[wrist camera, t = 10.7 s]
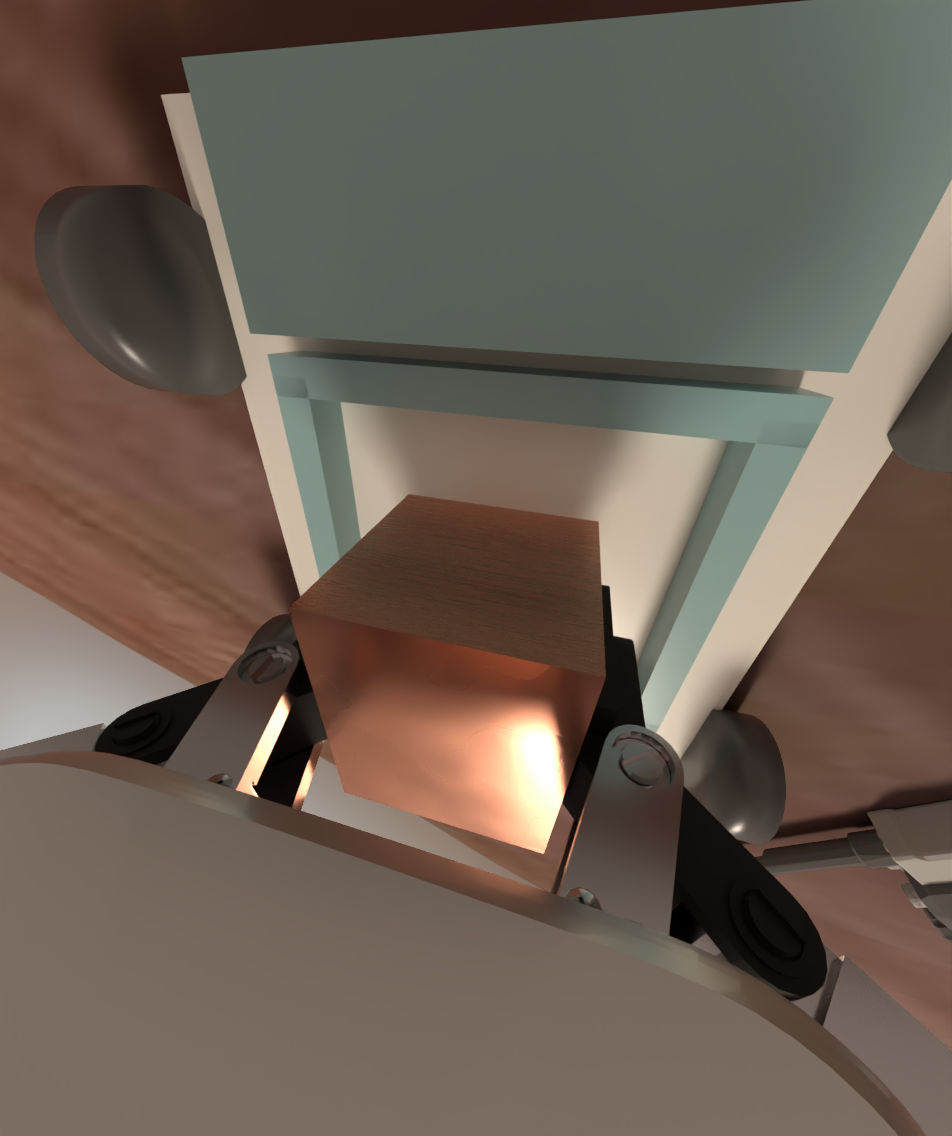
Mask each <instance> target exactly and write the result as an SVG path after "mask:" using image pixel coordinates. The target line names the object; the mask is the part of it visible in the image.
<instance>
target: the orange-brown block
mask: <svg viewBox="0 0 952 1136" xmlns="http://www.w3.org/2000/svg"><path fill="white" fill-rule="evenodd" d="M288 610H289V614H290V617H291V620H292V623H293V627H294V630H295V633H296V636H297V640H298V643H299V646H300V649H301V653H302V656H303V659H304V662H305V666H306V669H307V672H308V675H309V679H310V682H311V685H312V688H313V692H314V695H315V698H316V701H317V705H318V708H319V711H320V714H321V718H322V721H323V724H324V727H325V731H326V734H327V737H328V740H329V744H330V747H331V750H332V753H333V757H334V760H335V763H336V766H337V770H338V773H339V776H340V779H341V783H342V786H343V789H344V792H346V793H349V794H352V795H355V796H359V797H362V798H365V799H368V800H372V801H375V802H378V803H382V804H385V805H388V806H391V807H395V808H397V809H401V810H404V811H407V812H410V813H413V814H417V815H420V816H423V817H426V818H430V819H433V820H436V821H439V822H443V823H446V824H449V825H452V826H455V827H459V828H462V829H465V830H468V831H472V832H475V833H478V834H481V835H485V836H488V837H491V838H494V839H497V840H501V841H504V842H507V843H510V844H514V845H517V846H520V847H523V848H527V849H530V850H533V851H536V852H539V853H543V854H544V851H545V848H546V845H547V843H548V840H549V837H550V834H551V831H552V828H553V826H554V823H555V820H556V817H557V814H558V811H559V809H560V806H561V803H562V800H563V797H564V794H565V792H566V789H567V786H568V783H569V780H570V777H571V775H572V772H573V769H574V766H575V763H576V761H577V758H578V755H579V752H580V749H581V746H582V744H583V741H584V738H585V735H586V732H587V729H588V727H589V724H590V721H591V718H592V715H593V712H594V710H595V707H596V704H597V701H598V698H599V695H600V693H601V690H602V687H603V684H604V681H605V678H606V671H605V649H604V627H603V605H602V583H601V561H600V539H599V522H598V521H591V520H585V519H578V518H571V517H564V516H557V515H550V514H543V513H536V512H529V511H523V510H516V509H509V508H502V507H495V506H488V505H481V504H474V503H467V502H460V501H454V500H447V499H440V498H433V497H426V496H419V495H412V494H408V495H407V496H406V497H405V498H404V499H403V500H402V501H401V502H400V503H399V504H398V505H396V506H395V507H394V508H393V509H392V510H391V511H390V512H389V513H388V514H387V515H386V516H385V517H384V518H383V519H382V520H381V521H380V522H379V523H377V524H376V525H375V526H374V527H373V528H372V529H371V530H370V531H369V532H368V533H367V534H366V535H365V536H364V537H363V538H362V539H361V540H360V541H358V542H357V543H356V544H355V545H354V546H353V547H352V548H351V549H350V550H349V551H348V552H347V553H346V554H345V555H344V556H343V557H342V558H341V559H339V560H338V561H337V562H336V563H335V564H334V565H333V566H332V567H331V568H330V569H329V570H328V571H327V572H326V573H325V574H324V575H323V576H321V577H320V578H319V579H318V580H317V581H316V582H315V583H314V584H313V585H312V586H311V587H310V588H309V589H308V590H307V591H306V592H305V593H304V594H302V595H301V596H300V597H299V598H298V599H297V600H296V601H295V602H294V603H293V604H292V605H291V606H290V607H289V608H288Z"/></svg>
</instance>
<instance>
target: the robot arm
mask: <svg viewBox="0 0 952 1136" xmlns="http://www.w3.org/2000/svg"><path fill="white" fill-rule="evenodd" d="M602 605H603V627H604V649H605V671H606V678H605V681H604V684H603V687H602V690H601V693H600V695H599V698H598V701H597V704H596V707H595V710H594V712H593V715H592V718H591V721H590V724H589V727H588V729H587V732H586V735H585V738H584V741H583V744H582V746H581V749H580V752H579V755H578V758H577V761H576V763H575V766H574V769H573V772H572V775H571V777H570V780H569V783H568V786H567V789H566V792H565V794H564V798H563V804H564V806H565V807H566V809H567V810H568V811H569V813H570V814H571V816H572V817H573V818H574V819H573V822H572V825H571V828H570V831H569V835H568V838H567V841H566V844H565V847H564V850H563V854H562V857H561V860H560V863H559V866H558V869H557V873H556V876H555V879H554V882H553V885H552V888H551V892H550V893H549V892H546V891H543V890H540V889H537V888H534V887H531V886H528V885H525V884H522V883H519V882H516V881H513V880H510V879H507V878H504V877H501V876H498V875H495V874H492V873H489V872H486V871H483V870H480V869H477V868H474V867H471V866H468V865H465V864H462V863H459V862H456V861H453V860H450V859H447V858H444V857H441V856H438V855H435V854H432V853H428V852H426V851H423V850H420V849H416V848H413V847H410V846H407V845H404V844H401V843H398V842H395V841H392V840H389V839H386V838H383V837H380V836H377V835H374V834H370V833H368V832H364V831H361V830H358V829H355V828H352V827H349V826H346V825H343V824H340V823H337V822H334V821H331V820H327V819H325V818H322V817H318V816H315V815H312V814H309V813H306V812H303V811H301V808H302V805H303V802H304V799H305V796H306V793H307V790H308V787H309V784H310V782H311V779H312V776H313V773H314V770H315V767H316V764H317V761H318V758H319V755H320V752H321V749H322V746H323V742H324V740H325V739H327V738H328V737H327V734H326V731H325V727H324V724H323V721H322V718H321V714H320V711H319V708H318V705H317V701H316V698H315V695H314V692H313V688H312V685H311V682H310V679H309V675H308V672H307V669H306V666H305V662H304V659H303V656H302V653H301V649H300V646H299V643H298V640H296V641H295V642H294V643H293V644H292V645H291V644H289V643H287V642H279V641H277V642H268V643H264V644H261V645H258V646H256V647H254V648H251V649H249V650H248V651H246V652H245V653H244V654H242V655H241V656H240V657H239V658H238V659H237V660H236V661H235V662H234V663H233V665H232V666H231V668H230V669H229V671H228V672H227V674H226V675H225V677H224V678H221V679H218V680H215V681H212V682H209V683H206V684H203V685H200V686H197V687H194V688H191V689H188V690H185V691H182V692H180V693H176V694H173V695H170V696H167V697H164V698H161V699H158V700H155V701H152V702H149V703H146V704H143V705H141V706H139V707H136V708H134V709H131V710H129V711H128V712H126V713H125V714H123V715H121V716H120V717H118V718H117V719H116V720H114V721H113V722H112V723H111V724H110V725H108V726H107V727H106V726H105V725H104V723H102V724H98V725H95V726H91V727H87V728H83V729H80V730H76V731H72V732H69V733H65V734H61V735H57V736H53V737H50V738H46V739H43V740H39V741H35V742H31V743H27V744H23V745H20V746H16V747H12V748H8V749H5V750H1V751H0V1136H952V1051H951V1050H950V1049H949V1048H948V1047H947V1046H946V1045H944V1044H943V1043H942V1042H941V1041H940V1040H939V1039H938V1038H937V1037H936V1036H934V1035H933V1034H932V1033H931V1032H930V1031H929V1030H928V1029H927V1028H926V1027H924V1026H923V1025H922V1024H921V1023H920V1022H919V1021H918V1020H917V1019H916V1018H915V1017H913V1016H912V1015H911V1014H910V1013H909V1012H908V1011H907V1010H906V1009H905V1008H903V1007H902V1006H901V1005H900V1004H899V1003H898V1002H897V1001H896V1000H895V999H893V998H892V997H891V996H890V995H889V994H888V993H887V992H886V991H885V990H883V989H882V988H881V987H880V986H879V985H878V984H877V983H876V982H875V981H873V980H872V979H871V978H870V977H869V976H868V975H867V974H866V973H865V972H864V971H862V970H861V969H860V968H859V967H858V966H857V965H856V964H855V963H854V962H852V961H851V960H850V959H849V958H848V957H847V956H846V955H844V956H842V957H839V958H838V957H837V956H836V955H835V954H834V953H833V952H832V951H831V950H830V949H829V948H827V947H826V946H825V945H824V944H823V943H822V941H821V938H820V935H819V933H818V931H817V929H816V927H815V926H814V924H813V922H812V921H811V919H810V917H809V916H808V914H807V912H806V911H805V910H804V909H803V908H802V906H801V905H800V904H799V903H798V902H797V900H796V899H795V898H794V897H793V896H792V895H791V894H790V893H789V892H788V891H787V890H786V889H785V887H784V886H783V885H782V884H781V883H780V882H779V881H778V880H777V879H776V878H775V877H774V876H773V875H772V874H771V873H770V872H769V871H768V870H767V869H766V868H765V867H764V866H763V865H762V864H761V863H760V862H759V861H758V860H757V859H756V858H755V857H754V856H753V855H752V854H751V853H750V852H749V851H748V850H747V849H746V848H745V847H744V846H743V845H742V844H741V843H740V842H739V841H738V840H737V839H736V838H735V837H734V836H733V835H732V834H731V833H730V832H729V831H728V830H727V829H726V828H725V827H724V826H723V825H722V824H721V823H720V822H719V821H718V820H717V819H716V818H715V817H714V816H713V815H712V814H711V813H710V812H709V811H708V810H707V809H706V808H705V807H704V806H703V805H702V804H701V803H700V802H699V801H698V800H697V799H696V798H695V797H694V796H693V795H692V794H691V793H690V792H689V791H688V790H687V789H686V788H685V787H684V770H683V765H682V763H681V760H680V758H679V756H678V754H677V753H676V751H675V750H674V749H673V747H672V746H671V745H670V744H669V743H668V742H667V741H666V740H665V739H664V738H663V737H661V736H660V735H659V734H657V733H655V732H653V731H652V730H650V729H648V728H646V727H645V720H644V713H643V705H642V698H641V691H640V683H639V676H638V669H637V661H636V654H635V647H634V642H633V640H632V639H627V638H622V637H617V636H613V623H612V610H611V596H610V587H609V586H606V585H602Z"/></svg>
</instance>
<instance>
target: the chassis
mask: <svg viewBox="0 0 952 1136" xmlns="http://www.w3.org/2000/svg"><path fill="white" fill-rule="evenodd" d="M181 59H182V63H183V67H184V71H185V75H186V79H187V83H188V87H189V91H190V93H181V94H167V95H161V98H162V101H163V105H164V108H165V112H166V116H167V119H168V123H169V126H170V130H171V133H172V137H173V141H174V144H175V148H176V151H177V155H178V159H179V162H180V166H181V169H182V173H183V177H184V180H185V184H186V187H187V191H188V195H189V198H190V202H191V205H192V208H191V207H190V206H189V205H187V204H186V203H184V202H183V201H182V200H180V199H179V198H177V197H175V196H173V195H172V194H170V193H168V192H165V191H163V190H160V189H158V188H154V187H150V186H145V185H114V186H75V187H70V188H66V189H63V190H61V191H59V192H57V193H55V194H54V195H53V196H52V197H51V198H49V199H48V200H47V202H46V203H45V204H44V206H43V207H42V209H41V211H40V213H39V216H38V219H37V221H36V228H35V234H34V241H35V255H36V261H37V266H38V269H39V273H40V276H41V279H42V282H43V285H44V287H45V289H46V292H47V294H48V297H49V299H50V300H51V302H52V304H53V306H54V308H55V310H56V312H57V313H58V315H59V316H60V318H61V319H62V321H63V322H64V324H65V325H66V327H67V328H68V329H69V331H70V332H71V333H72V334H73V336H74V337H75V338H76V339H77V341H78V342H79V343H80V344H81V345H82V346H83V347H84V348H85V349H86V350H87V351H88V352H89V353H90V354H91V355H92V356H93V357H94V358H96V359H97V360H98V361H99V362H100V363H101V364H103V365H104V366H105V367H107V368H108V369H109V370H111V371H112V372H114V373H115V374H117V375H119V376H120V377H122V378H124V379H126V380H128V381H130V382H132V383H134V384H136V385H139V386H142V387H145V388H149V389H153V390H159V391H169V392H178V393H188V394H198V395H209V396H215V395H222V394H225V393H228V392H230V391H232V390H234V389H236V388H237V387H238V386H239V385H242V389H243V392H244V396H245V400H246V403H247V407H248V410H249V414H250V418H251V421H252V425H253V428H254V432H255V435H256V439H257V443H258V446H259V450H260V453H261V457H262V461H263V464H264V468H265V471H266V475H267V479H268V482H269V486H270V489H271V493H272V497H273V500H274V504H275V507H276V511H277V515H278V518H279V522H280V525H281V529H282V533H283V536H284V540H285V543H286V547H287V551H288V554H289V558H290V561H291V565H292V569H293V572H294V576H295V579H296V583H297V586H298V590H299V594H300V596H301V595H302V594H304V593H305V592H306V591H307V590H308V589H309V588H310V587H311V586H312V585H313V584H314V583H315V582H316V581H317V580H318V579H319V578H320V577H321V576H323V575H324V574H325V573H326V572H327V571H328V570H329V569H330V568H331V567H332V566H333V565H334V564H335V563H336V562H337V561H338V560H339V559H341V558H342V557H343V556H344V555H345V554H346V553H347V552H348V551H349V550H350V549H351V548H352V547H353V546H354V545H355V544H356V543H357V542H358V541H360V540H361V539H362V538H363V537H364V536H365V535H366V534H367V533H368V532H369V531H370V530H371V529H372V528H373V527H374V526H375V525H376V524H377V523H379V522H380V521H381V520H382V519H383V518H384V517H385V516H386V515H387V514H388V513H389V512H390V511H391V510H392V509H393V508H394V507H395V506H396V505H398V504H399V503H400V502H401V501H402V500H403V499H404V498H405V497H406V496H407V495H408V494H412V495H419V496H426V497H433V498H440V499H447V500H454V501H460V502H467V503H474V504H481V505H488V506H495V507H502V508H509V509H516V510H523V511H529V512H536V513H543V514H550V515H557V516H564V517H571V518H578V519H585V520H591V521H598V522H599V539H600V561H601V583H602V585H606V586H609V587H610V596H611V610H612V623H613V636H617V637H622V638H627V639H632V640H633V642H634V647H635V654H636V661H637V669H638V676H639V683H640V691H641V698H642V705H643V713H644V720H645V727H646V728H648V729H650V730H652V731H653V732H655V733H657V734H659V735H660V736H661V737H663V738H664V739H665V740H666V741H667V742H668V743H669V744H670V745H671V746H672V747H673V749H674V750H675V751H676V753H677V754H678V756H679V758H680V760H681V763H682V765H683V770H684V787H685V788H686V789H687V790H688V791H689V792H690V793H691V794H692V795H693V796H694V797H695V798H696V799H697V800H698V801H699V802H700V803H701V804H702V805H703V806H704V807H705V808H706V809H707V810H708V811H709V812H710V813H711V814H712V815H713V816H714V817H715V818H716V819H717V820H718V821H719V822H720V823H721V824H722V825H723V826H724V827H725V828H726V829H727V830H728V831H729V832H730V833H731V834H732V835H733V836H734V837H735V838H736V839H737V840H740V841H744V842H748V843H751V844H756V845H762V844H765V843H767V842H768V841H770V840H771V839H772V838H773V837H774V835H775V834H776V832H777V831H778V829H779V826H780V824H781V821H782V818H783V814H784V808H785V799H786V783H785V773H784V767H783V762H782V758H781V755H780V752H779V749H778V746H777V744H776V741H775V739H774V737H773V735H772V734H771V732H770V731H769V729H768V728H767V727H766V725H765V724H764V723H763V722H762V721H761V720H759V719H758V718H756V717H754V716H752V715H748V714H743V713H739V712H734V711H729V710H725V709H723V707H724V706H725V704H726V703H727V701H728V700H729V698H730V696H731V695H732V693H733V692H734V690H735V689H736V687H737V686H738V684H739V683H740V681H741V680H742V678H743V677H744V675H745V674H746V672H747V671H748V669H749V668H750V666H751V665H752V663H753V662H754V660H755V658H756V657H757V655H758V654H759V652H760V651H761V649H762V648H763V646H764V645H765V643H766V642H767V640H768V639H769V637H770V636H771V634H772V633H773V631H774V630H775V628H776V627H777V625H778V624H779V622H780V620H781V619H782V617H783V616H784V614H785V613H786V611H787V610H788V608H789V607H790V605H791V604H792V602H793V601H794V599H795V598H796V596H797V595H798V593H799V592H800V590H801V589H802V587H803V586H804V584H805V582H806V581H807V579H808V578H809V576H810V575H811V573H812V572H813V570H814V569H815V567H816V566H817V564H818V563H819V561H820V560H821V558H822V557H823V555H824V554H825V552H826V551H827V549H828V548H829V546H830V544H831V543H832V541H833V540H834V538H835V537H836V535H837V534H838V532H839V531H840V529H841V528H842V526H843V525H844V523H845V522H846V520H847V519H848V517H849V516H850V514H851V513H852V511H853V510H854V508H855V506H856V505H857V503H858V502H859V500H860V499H861V497H862V496H863V494H864V493H865V491H866V490H867V488H868V487H869V485H870V484H871V482H872V481H873V479H874V478H875V476H876V475H877V473H878V471H879V470H880V468H881V467H882V465H883V464H884V462H885V461H886V459H887V458H888V456H889V455H890V453H891V452H892V450H894V451H895V453H896V454H897V455H898V456H899V457H900V458H901V459H902V460H903V461H905V462H907V463H908V464H910V465H912V466H915V467H918V468H921V469H926V470H933V471H941V472H951V473H952V0H807V1H796V2H785V3H774V4H763V5H752V6H741V7H730V8H719V9H708V10H697V11H686V12H675V13H664V14H653V15H642V16H631V17H620V18H610V19H599V20H588V21H577V22H566V23H555V24H544V25H533V26H522V27H511V28H500V29H489V30H478V31H467V32H456V33H445V34H434V35H423V36H412V37H401V38H390V39H379V40H368V41H357V42H346V43H335V44H324V45H313V46H302V47H291V48H280V49H269V50H258V51H247V52H236V53H225V54H214V55H203V56H192V57H182V58H181ZM296 640H297V636H296V633H295V630H294V627H293V623H292V620H291V617H290V614H282V615H279V616H276V617H274V618H272V619H270V620H269V621H267V622H266V623H265V624H264V625H263V626H262V627H261V628H260V629H259V630H258V631H257V632H256V633H255V635H254V636H253V638H252V639H251V640H250V642H249V644H248V646H247V647H246V650H245V652H246V651H248V650H249V649H251V648H254V647H256V646H258V645H261V644H264V643H268V642H277V641H279V642H287V643H289V644H291V645H292V644H293V643H294V642H295V641H296ZM245 652H244V653H245Z"/></svg>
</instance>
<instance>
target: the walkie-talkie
mask: <svg viewBox="0 0 952 1136" xmlns="http://www.w3.org/2000/svg"><path fill="white" fill-rule="evenodd" d="M867 814H868V816H869V818H870V820H871V821H872V823H873V825H874V827H875V828H876V829H872V830H865V831H858V832H851V833H848V835H847V837H846V838H840V839H833V840H826V841H819V842H812V843H805V844H798V845H791V846H784V847H777V848H770V849H765V850H764V852H763V855H762V856H759V857H755V858H756V859H757V860H758V861H759V862H760V863H761V864H762V865H763V866H764V867H765V868H766V869H767V870H768V871H769V872H770V873H771V874H772V875H778V874H787V873H797V872H806V871H815V870H825V869H834V868H843V867H853V866H862V865H865V866H867V867H868V868H871V869H872V868H881V867H888V868H889V869H890V870H891V869H901V870H902V872H905V874H906V875H907V877H908V879H909V881H910V883H906V884H901V886H902V888H903V890H904V892H905V894H906V895H907V897H908V898H909V900H910V901H911V903H912V904H913V905H914V906H915V907H916V908H923V910H924V912H925V913H926V915H927V916H928V918H929V919H930V920H931V922H932V923H933V925H934V926H935V927H936V928H937V930H938V931H939V932H940V934H941V935H942V936H943V937H944V938H945V939H946V940H948V941H949V942H951V943H952V800H947V801H941V802H935V803H930V804H924V805H918V806H912V807H906V808H901V809H895V810H894V809H881V810H876V811H870V812H867Z"/></svg>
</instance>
